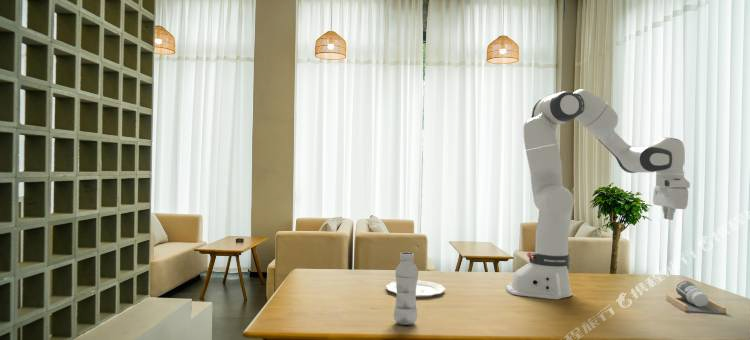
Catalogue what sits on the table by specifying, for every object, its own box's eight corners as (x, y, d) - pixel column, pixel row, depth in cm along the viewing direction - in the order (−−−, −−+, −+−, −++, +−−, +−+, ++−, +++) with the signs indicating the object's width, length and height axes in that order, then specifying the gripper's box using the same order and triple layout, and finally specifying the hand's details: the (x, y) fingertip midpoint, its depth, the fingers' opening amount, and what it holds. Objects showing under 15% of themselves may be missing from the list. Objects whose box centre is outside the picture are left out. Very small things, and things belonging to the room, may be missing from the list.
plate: (374, 289, 172) (374, 284, 172) (417, 281, 185) (417, 277, 185) (412, 303, 156) (412, 298, 156) (457, 294, 168) (457, 289, 168)
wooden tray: (684, 311, 151) (684, 305, 151) (665, 299, 165) (665, 294, 165) (725, 314, 149) (726, 308, 149) (703, 302, 163) (703, 296, 163)
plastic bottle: (392, 320, 138) (393, 251, 137) (415, 320, 138) (416, 251, 138) (395, 327, 131) (396, 255, 131) (419, 327, 132) (420, 255, 132)
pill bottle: (690, 295, 165) (708, 309, 155) (673, 294, 165) (690, 307, 156) (693, 280, 164) (711, 293, 154) (676, 279, 164) (693, 291, 154)
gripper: (649, 180, 187) (647, 215, 187) (672, 182, 166) (671, 222, 167) (666, 181, 185) (665, 216, 186) (692, 183, 165) (691, 222, 165)
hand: (668, 219), depth 176 cm, fingers closed
